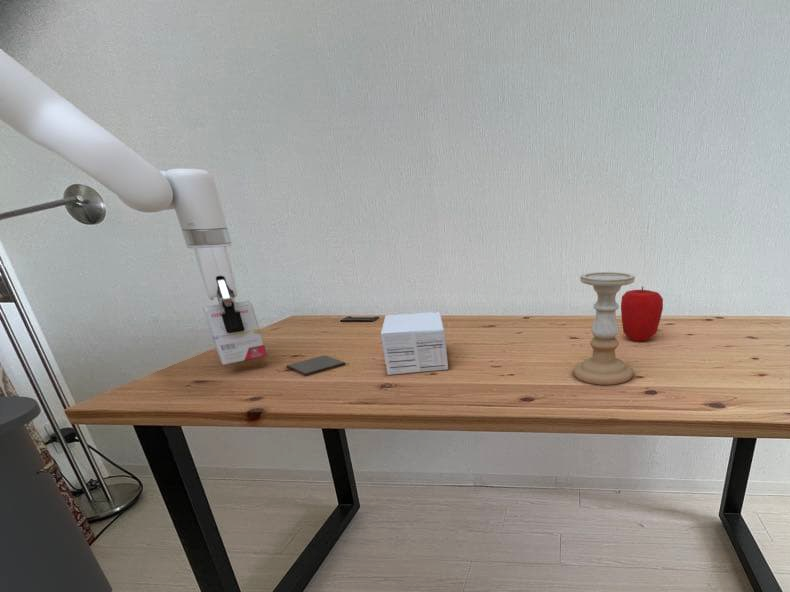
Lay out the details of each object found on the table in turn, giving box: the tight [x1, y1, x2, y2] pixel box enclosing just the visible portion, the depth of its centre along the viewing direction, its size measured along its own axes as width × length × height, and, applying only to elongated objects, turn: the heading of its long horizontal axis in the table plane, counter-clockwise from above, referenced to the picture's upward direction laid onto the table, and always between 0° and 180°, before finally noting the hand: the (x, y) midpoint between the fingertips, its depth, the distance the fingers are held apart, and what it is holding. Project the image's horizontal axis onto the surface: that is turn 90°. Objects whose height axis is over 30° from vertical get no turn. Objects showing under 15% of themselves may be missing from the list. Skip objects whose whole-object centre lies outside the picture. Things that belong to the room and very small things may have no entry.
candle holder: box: [573, 271, 636, 386], centre depth 91 cm, size 12×12×20 cm
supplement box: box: [380, 311, 449, 376], centre depth 104 cm, size 17×13×9 cm
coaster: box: [286, 354, 346, 377], centre depth 103 cm, size 9×9×1 cm
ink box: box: [202, 300, 268, 366], centre depth 98 cm, size 9×5×12 cm, turn 128°
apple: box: [620, 286, 664, 343], centre depth 117 cm, size 11×10×14 cm
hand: (234, 328), depth 97 cm, fingers closed on ink box, 5 cm apart
